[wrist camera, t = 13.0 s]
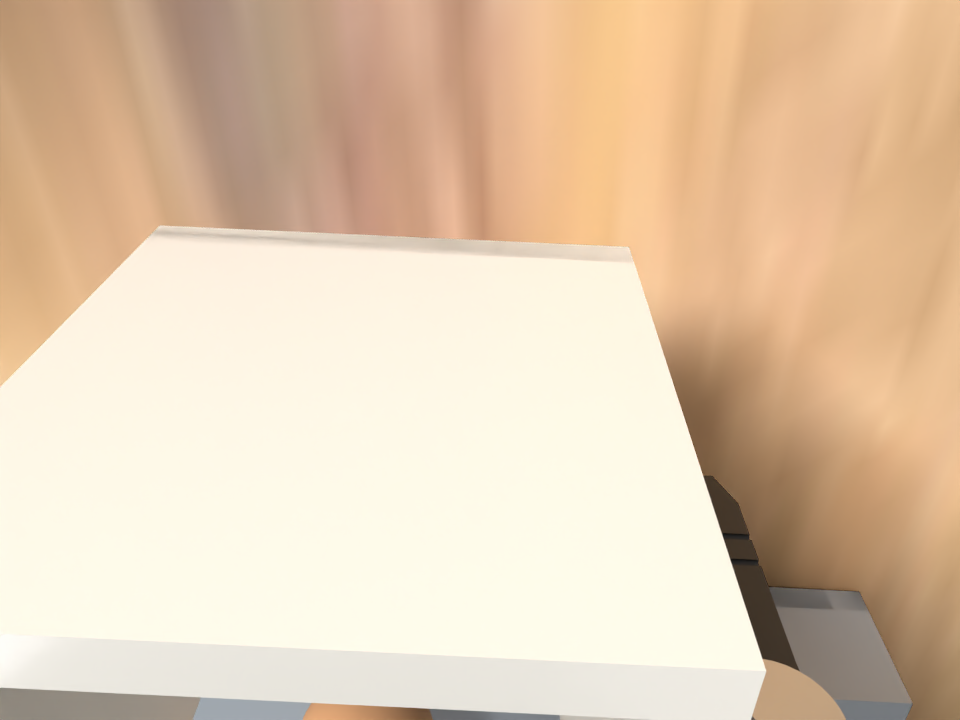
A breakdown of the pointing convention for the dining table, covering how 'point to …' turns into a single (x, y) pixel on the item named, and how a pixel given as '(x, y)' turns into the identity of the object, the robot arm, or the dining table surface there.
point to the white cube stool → (361, 489)
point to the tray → (810, 632)
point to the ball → (364, 712)
